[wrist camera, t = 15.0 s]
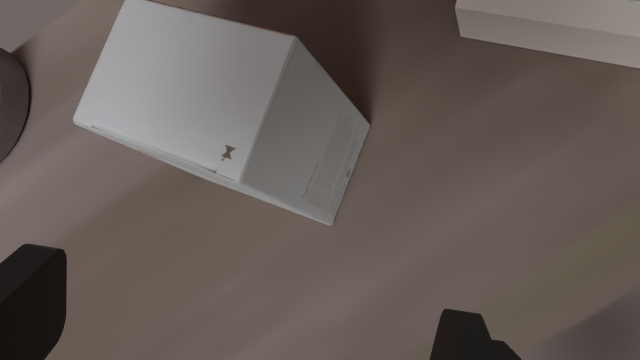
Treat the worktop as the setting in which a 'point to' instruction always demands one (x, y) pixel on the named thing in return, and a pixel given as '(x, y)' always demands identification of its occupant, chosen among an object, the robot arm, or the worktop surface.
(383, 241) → the worktop surface
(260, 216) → the worktop surface
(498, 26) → the wooden tray
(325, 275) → the worktop surface
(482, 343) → the robot arm
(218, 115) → the small box
